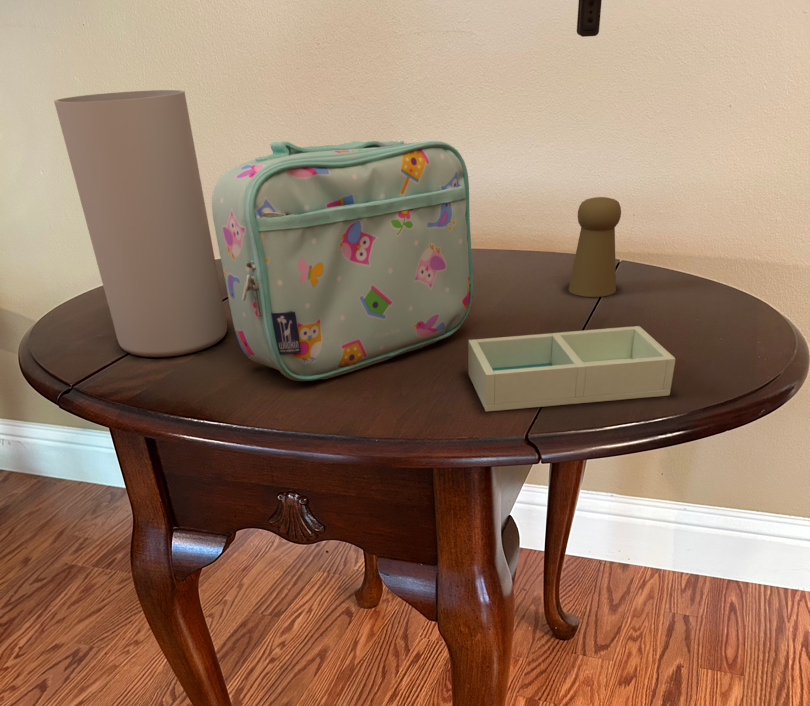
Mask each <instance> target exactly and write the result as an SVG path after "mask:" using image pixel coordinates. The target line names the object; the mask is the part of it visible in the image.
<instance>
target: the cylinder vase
mask: <svg viewBox="0 0 810 706" xmlns="http://www.w3.org/2000/svg"><path fill="white" fill-rule="evenodd" d="M53 103H54V106H55V110H56V113H57V118H58V121H59V125H60V129H61V133H62V136H63V140H64V143H65V147H66V151H67V155H68V160H69V162H70V167H71V170H72V174H73V177H74V181H75V185H76V188H77V189H76V190H77V193H78V196H79V200H80V203H81V207H82V208H81V209H82V211H83V215H84V220H85V222H86V226H87V230H88V234H89V237H90V241H91V245H92V247H93V248H92V249H93V252H94V256H95V260H96V265H97V268H98V272H99V275H100V280H101V282H102V287H103V290H104V294H105V297H106V301H107V305H108V309H109V313H110V316H111V320H112V324H113V328H114V331H115V335H116V339H117V343H118V345H119V346H120V347H121V349H122V350H123V351H125V352H126V353H128V354H131V355H134V356H139V357H144V358H145V357H146V358H169V357H178V356H183V355H189V354H193V353H196V352H200V351H203V350H205V349H209V348H210V347H213V346H215V345H216V344H217V343H219V342H220V341H221V340H223V338H224V337H225V336H226V334H227V331H228V324H227V319H226V313H225V308H224V303H223V302H224V301H223V296H222V290H221V286H220V285H221V284H220V281H219V275H218V270H217V264H216V258H215V254H214V247H213V241H212V236H211V230H210V224H209V220H208V219H209V218H208V213H207V208H206V202H205V197H204V192H203V191H204V190H203V187H202V181H201V174H200V170H199V169H200V168H199V163H198V159H197V158H198V157H197V153H196V152H197V151H196V147H195V143H194V136H193V131H192V125H191V120H190V114H189V113H190V112H189V108H188V103H187V98H186V92H185V90H179V89H156V90H155V89H153V90H134V91H119V92H118V91H117V92H107V93H95V94H85V95H77V96H69V97H63V98H57V99H54V100H53Z"/></svg>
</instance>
